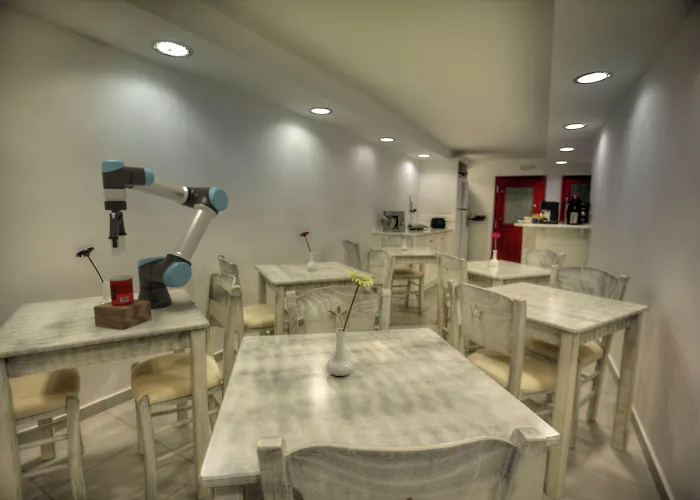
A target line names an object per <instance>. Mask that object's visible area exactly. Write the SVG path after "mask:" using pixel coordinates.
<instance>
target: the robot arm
mask: <svg viewBox="0 0 700 500" xmlns="http://www.w3.org/2000/svg"><path fill="white" fill-rule="evenodd" d="M124 163H125V162H124V161H123V160H120V159H104V160H102V161H101V171H100V172H101V176H102V177H101V178H102V186H103V188H102V190H103V191H101V194H102V195H103V199H104V201H103V204H104V205H103V207H104V210H105V211H111V212H110V213H109V236H107V237H108V238H107V239H108V240H110V245H111V257H121V253H122V252H127V249H126V236H127V235H128V233H127V232H126V228H125V221H124V211H127V210H128V205H127V203H128V202H127V201H126V200H127V189H130V190H133V191H135V192H140V193H143V194H148V195H151V196H154V197H155V196H156V197H159V198H162V199H166V200H169V201H173V202H175V203H176V204H178V205H179V206H180V205H181V206H182V207H183V206H184V207H187V208H190V209H194V212H193V213H192V216H191V217H190V219H189V221H188V223H187V225H186V226H185V228H184V229H183V232H182V234H181V235H180V237H179V239H178V241H177V243H176V245H175V246H174V248H173V250H172V252H171V251H170V252H168V253H166V256H164V255H163V256H160V255H159V256H152V257H143V258H140V259H139V260H138V262H137V272H138V286H139V292H138V295H137V300H147V301H150V304H151V310H153V309H159V308H160V309H161V308H165V307H168V306H170V305H172V304H173V301H172V300H173V299H172V296H171V295H170V291H169V289H168V288H182V287H184V286H185V285H187V284H188V283H189V282H190V280H191V279H192V275H193V273H192V267H191V266H192V264H193V263H192V262H191V260H192V257H193V256H194V254H195V252H196V250H197V249H198V246H199V244H200V242H201V240H202V238H203V236H204V234H205V233H206V230H207V229H208V227H209V226H210V223H211V221H212V219H215V218H217V217H218V215H219V213H220V212H223V211H225V210H226V209H227V208H228V205H229V197H228V194H227V193H226V191H225V190H224V189H223V188H221V187H217V186H212V187H205V186H204V187H201V186H198V187H193V186H191V187H190V186H186V185H179V186H178V185H177V184H172V183H170V182H165V181H162V180H159V179H156V178H155V174H154V171H153V170H152V169H150V168H148V167H143V166H142V167H139V166H138V167H136V166H126V165H125V164H124Z"/></svg>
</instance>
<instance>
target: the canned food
mask: <svg viewBox="0 0 700 500" xmlns="http://www.w3.org/2000/svg"><path fill="white" fill-rule="evenodd" d="M109 288H110V302H111V303H112V305H113V306H125V305H129V304H132V303H133V301H134V299H135V298H134V284H133V276H132V275H128V274H126V275H116V276H111V277H110V278H109Z"/></svg>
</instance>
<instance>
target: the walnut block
mask: <svg viewBox="0 0 700 500" xmlns="http://www.w3.org/2000/svg"><path fill="white" fill-rule="evenodd" d="M93 313H94V322H95V327H100V328H106V329H113V330H119V331H124V330H126V329H129V328H132V327H135V326H138V325H140V324H142V323H145V322H148V321H150V320H152V309H151V304H150V301H147V300H138V298H137V299H136V298H134V301H133V303H132V304H129V305H125V306H113V305H112V303H111V301H110V302H105V303H103V304H99V305H96V306H93Z"/></svg>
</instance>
